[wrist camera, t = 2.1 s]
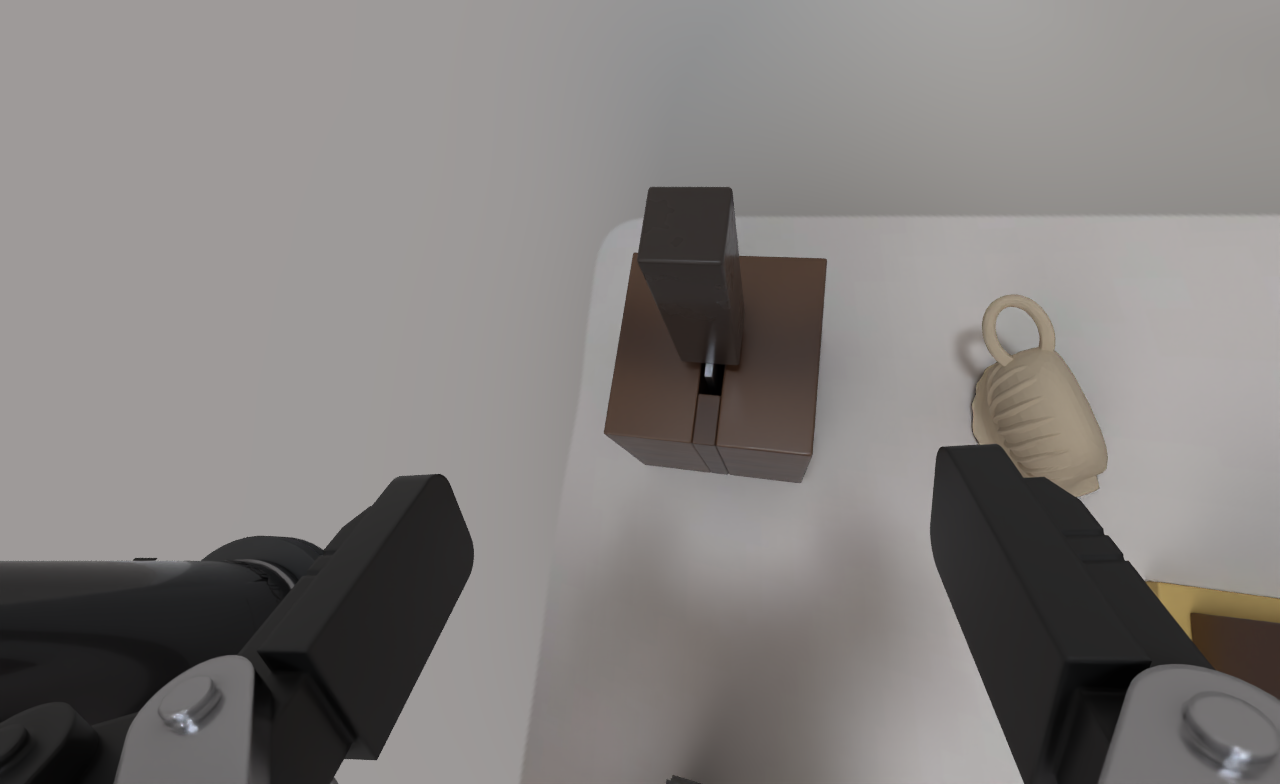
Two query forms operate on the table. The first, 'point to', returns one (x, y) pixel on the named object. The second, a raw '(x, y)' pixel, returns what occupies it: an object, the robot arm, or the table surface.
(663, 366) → the knife block
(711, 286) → the knife
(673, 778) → the handgun
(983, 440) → the decorative ornament
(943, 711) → the table surface
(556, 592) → the table surface
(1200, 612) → the cake
